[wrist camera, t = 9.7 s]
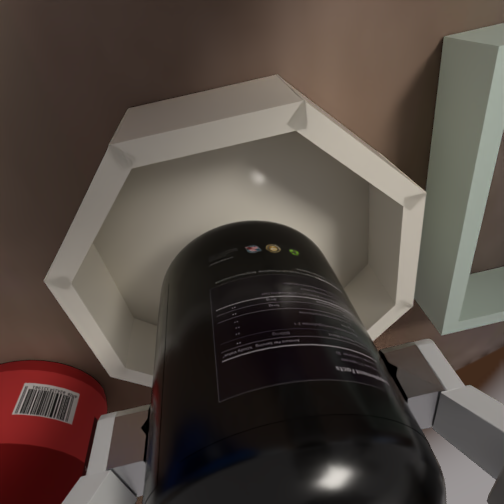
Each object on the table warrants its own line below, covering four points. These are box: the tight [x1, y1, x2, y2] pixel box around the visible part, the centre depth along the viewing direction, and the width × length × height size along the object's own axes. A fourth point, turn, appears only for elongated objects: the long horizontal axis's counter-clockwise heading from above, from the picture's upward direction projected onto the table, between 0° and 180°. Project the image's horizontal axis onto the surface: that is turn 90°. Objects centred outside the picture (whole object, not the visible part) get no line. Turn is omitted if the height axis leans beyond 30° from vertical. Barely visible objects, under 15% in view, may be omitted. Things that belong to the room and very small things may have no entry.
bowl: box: [44, 74, 427, 387], centre depth 16 cm, size 14×14×4 cm
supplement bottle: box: [142, 220, 446, 504], centre depth 10 cm, size 7×7×12 cm
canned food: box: [0, 360, 107, 504], centre depth 18 cm, size 8×8×11 cm
